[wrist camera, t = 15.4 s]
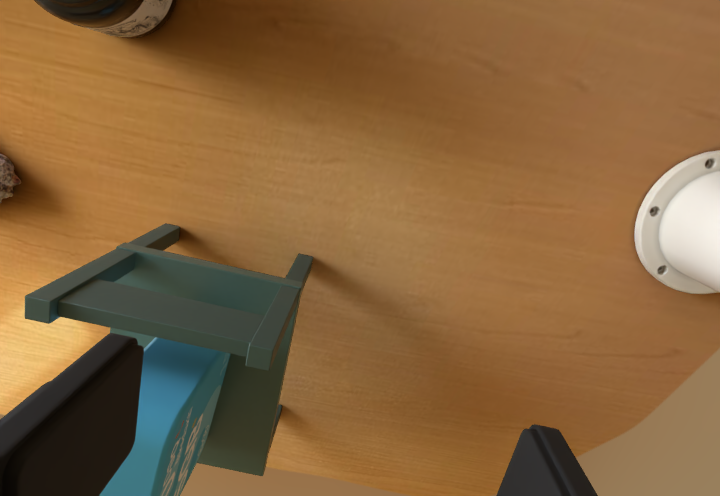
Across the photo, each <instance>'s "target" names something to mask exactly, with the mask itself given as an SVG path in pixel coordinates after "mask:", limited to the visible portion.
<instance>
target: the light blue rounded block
mask: <svg viewBox="0 0 720 496" xmlns="http://www.w3.org/2000/svg"><path fill="white" fill-rule="evenodd" d="M230 354H231V353H226V352H222V351H217V350H212V349H208V348H203V347H198V346H194V345H189V344H185V343H180V342H175V341H171V340H166V339H162V338H157V337H155V338H154V339H153V340H152V341H151V342H150V343H149V344H148V345H147V346H146V347H145V348H144V355H143V365H142V375H141V386H140V396H139V406H138V416H137V426H136V437H135V442H134V445H133V447H132V450H131V452H130V453H129V455H128V456H127V458H126V459H125V461H124V462H123V463H122V465H121V466H120V467H119V469H118V470H117V472H116V473H115V474H114V476H113V477H112V479H111V480H110V481H109V483H108V484H107V485H106V487H105V488H104V490H103V491H102V492H101V494H100V495H99V496H180V494H181V492H182V490H183V488H184V486H185V484H186V482H187V480H188V479H189V477H190V474H191V473H192V470H193V469H194V467H195V465H196V463H197V461H198V459H199V457H200V455H201V452H202V450H203V448H204V445H205V442H206V439H207V436H208V433H209V430H210V426H211V422H212V419H213V415H214V412H215V408H216V404H217V401H218V397H219V394H220V390H221V387H222V383H223V379H224V376H225V372H226V369H227V365H228V362H229V358H230Z"/></svg>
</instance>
